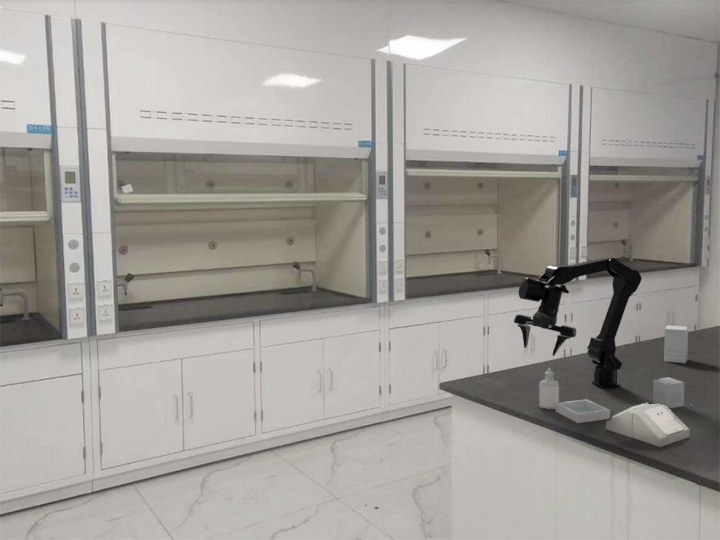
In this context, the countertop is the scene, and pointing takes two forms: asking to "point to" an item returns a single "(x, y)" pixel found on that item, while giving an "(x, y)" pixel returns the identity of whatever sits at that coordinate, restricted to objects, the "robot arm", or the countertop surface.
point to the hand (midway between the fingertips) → (539, 351)
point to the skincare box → (668, 392)
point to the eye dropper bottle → (548, 391)
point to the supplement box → (676, 344)
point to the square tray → (582, 411)
